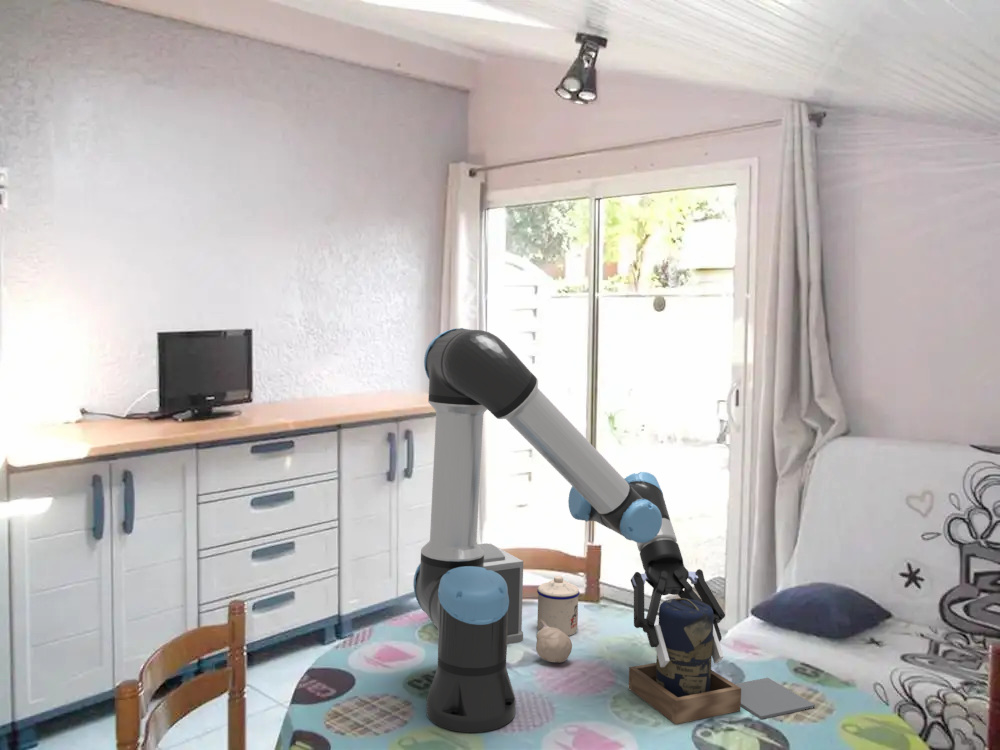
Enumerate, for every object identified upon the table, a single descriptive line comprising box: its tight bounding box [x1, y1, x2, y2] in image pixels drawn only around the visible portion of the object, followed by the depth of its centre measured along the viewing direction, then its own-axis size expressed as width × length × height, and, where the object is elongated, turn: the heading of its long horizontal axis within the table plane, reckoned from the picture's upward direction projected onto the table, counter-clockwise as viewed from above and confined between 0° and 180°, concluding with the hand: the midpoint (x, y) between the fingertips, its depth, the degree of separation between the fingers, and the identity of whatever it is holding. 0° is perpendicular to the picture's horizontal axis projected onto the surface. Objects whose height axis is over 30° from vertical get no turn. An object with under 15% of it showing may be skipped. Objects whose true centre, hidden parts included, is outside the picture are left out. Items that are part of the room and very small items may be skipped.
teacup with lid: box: [536, 575, 581, 637], centre depth 184 cm, size 12×9×12 cm
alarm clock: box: [477, 542, 524, 645], centre depth 180 cm, size 18×13×18 cm
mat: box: [734, 677, 816, 720], centre depth 152 cm, size 12×12×1 cm
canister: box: [655, 597, 714, 697], centre depth 150 cm, size 10×10×18 cm
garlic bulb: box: [535, 620, 573, 664], centre depth 166 cm, size 7×6×8 cm
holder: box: [628, 662, 741, 725], centre depth 150 cm, size 14×14×4 cm
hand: (692, 662), depth 147 cm, fingers closed on canister, 9 cm apart
